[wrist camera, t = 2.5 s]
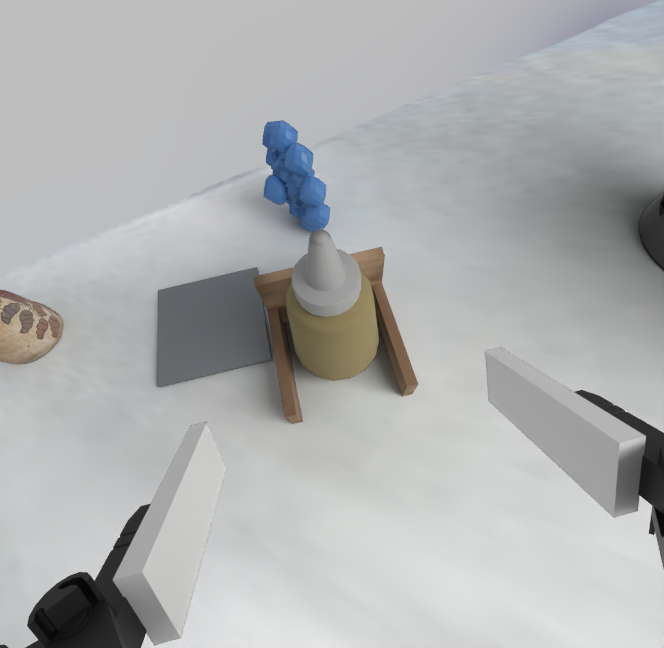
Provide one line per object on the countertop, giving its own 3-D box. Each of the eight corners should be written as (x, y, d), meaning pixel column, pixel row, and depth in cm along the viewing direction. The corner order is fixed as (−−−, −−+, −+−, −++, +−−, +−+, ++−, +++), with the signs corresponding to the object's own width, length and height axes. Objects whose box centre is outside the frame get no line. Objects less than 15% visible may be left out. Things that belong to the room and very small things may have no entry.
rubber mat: (257, 269, 40) (256, 267, 39) (271, 359, 35) (270, 358, 34) (160, 292, 39) (158, 290, 39) (159, 387, 34) (157, 386, 34)
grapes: (255, 205, 45) (222, 117, 34) (298, 184, 46) (279, 92, 35) (297, 262, 40) (274, 180, 29) (343, 236, 41) (338, 149, 30)
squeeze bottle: (285, 350, 35) (221, 237, 19) (341, 305, 37) (327, 166, 21) (334, 407, 32) (309, 331, 16) (393, 355, 34) (424, 238, 18)
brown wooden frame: (377, 292, 37) (381, 246, 30) (412, 394, 32) (427, 368, 25) (274, 317, 37) (253, 277, 30) (292, 423, 32) (272, 406, 24)
